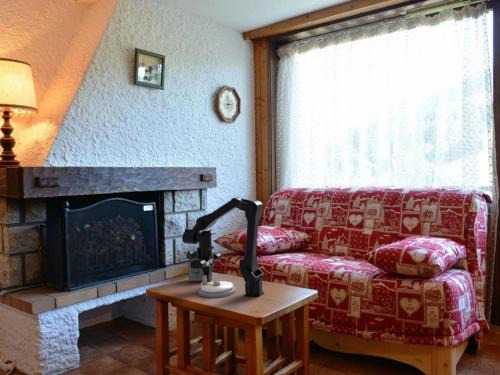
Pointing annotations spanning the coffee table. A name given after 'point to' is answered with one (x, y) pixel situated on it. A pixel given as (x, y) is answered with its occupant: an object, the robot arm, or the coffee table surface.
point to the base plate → (215, 295)
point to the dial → (215, 286)
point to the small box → (196, 274)
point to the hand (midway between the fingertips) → (206, 279)
